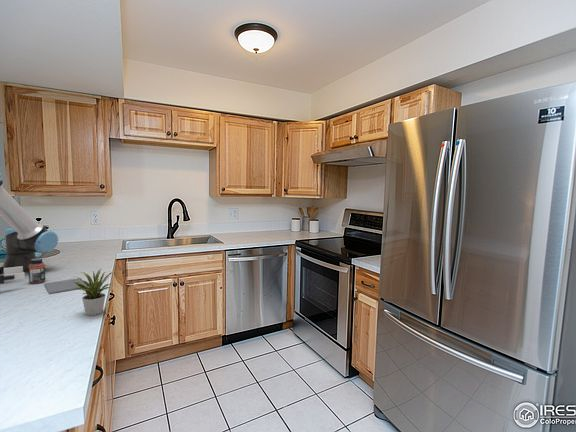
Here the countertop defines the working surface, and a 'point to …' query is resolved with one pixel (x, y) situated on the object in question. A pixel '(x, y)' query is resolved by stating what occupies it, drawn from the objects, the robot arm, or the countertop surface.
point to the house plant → (93, 293)
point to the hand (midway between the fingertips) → (23, 272)
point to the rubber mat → (63, 286)
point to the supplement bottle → (36, 271)
